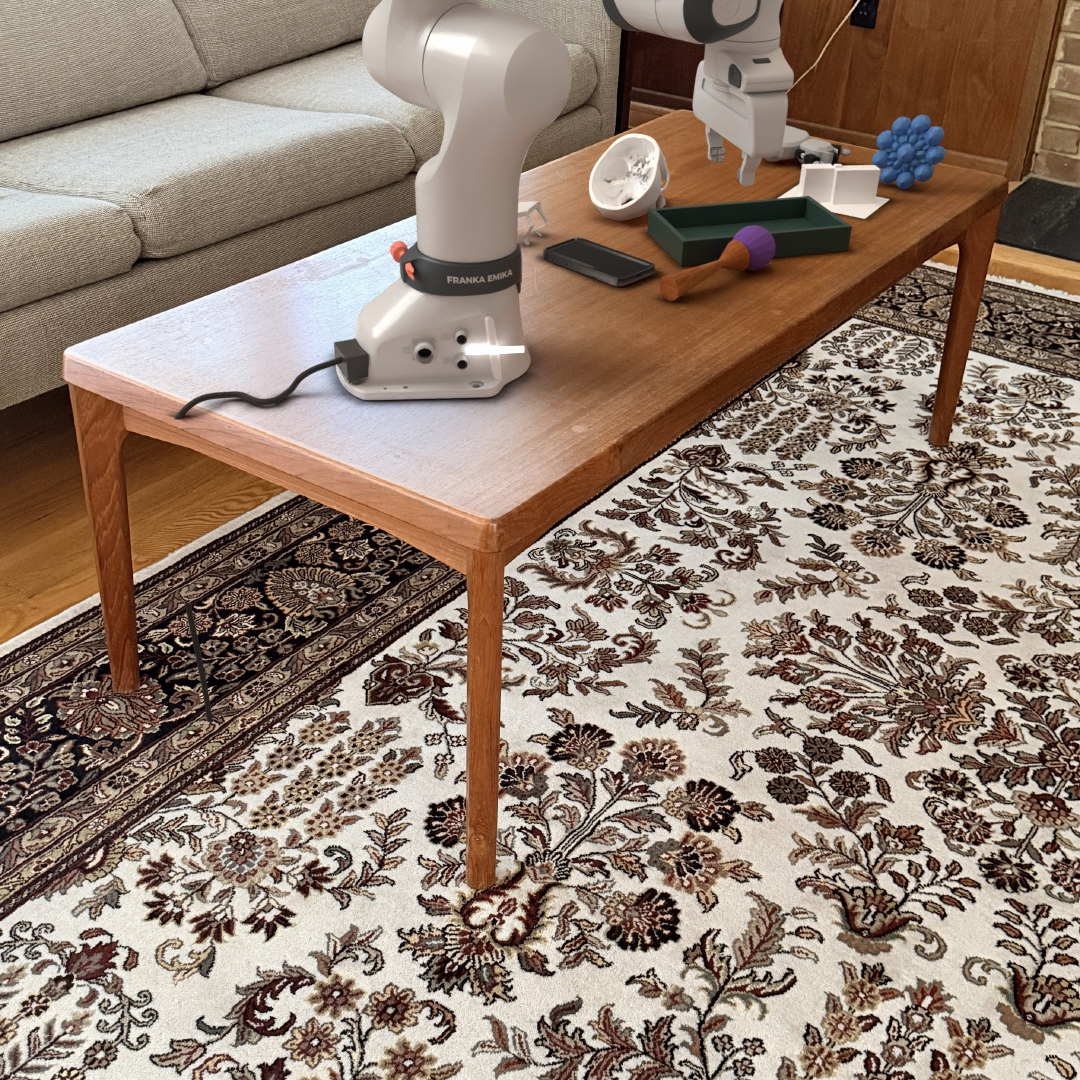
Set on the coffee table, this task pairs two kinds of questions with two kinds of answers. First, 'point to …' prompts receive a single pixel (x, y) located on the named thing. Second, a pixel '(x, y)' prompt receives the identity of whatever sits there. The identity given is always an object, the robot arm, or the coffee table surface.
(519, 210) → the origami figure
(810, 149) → the robot toy
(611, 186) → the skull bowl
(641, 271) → the phone
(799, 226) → the tray
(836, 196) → the napkin holder
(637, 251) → the coffee table surface
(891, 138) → the blue beaded flower
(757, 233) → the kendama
